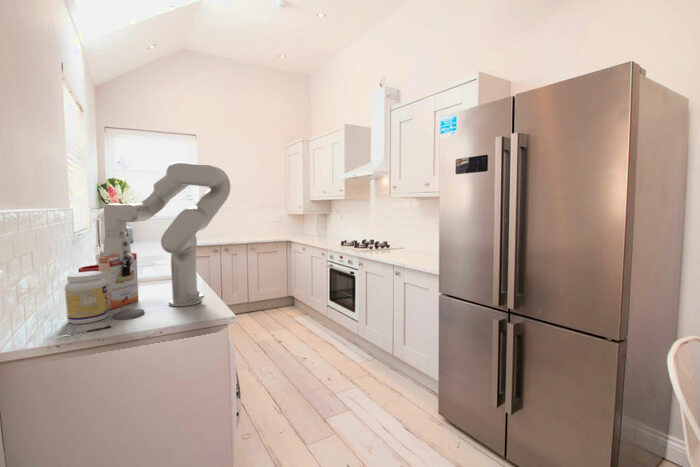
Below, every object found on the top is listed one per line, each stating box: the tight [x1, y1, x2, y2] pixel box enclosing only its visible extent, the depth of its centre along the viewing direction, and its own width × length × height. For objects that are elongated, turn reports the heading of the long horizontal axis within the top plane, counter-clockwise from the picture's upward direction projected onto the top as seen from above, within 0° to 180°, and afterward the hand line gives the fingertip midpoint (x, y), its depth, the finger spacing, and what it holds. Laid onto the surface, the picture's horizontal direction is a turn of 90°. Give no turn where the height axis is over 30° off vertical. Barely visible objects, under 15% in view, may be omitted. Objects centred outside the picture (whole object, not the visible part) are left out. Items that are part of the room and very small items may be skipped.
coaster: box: [112, 308, 145, 321], centre depth 137 cm, size 10×10×1 cm
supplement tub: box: [64, 271, 109, 325], centre depth 131 cm, size 12×12×17 cm
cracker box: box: [97, 252, 139, 310], centre depth 150 cm, size 14×6×21 cm, turn 168°
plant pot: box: [78, 264, 99, 273], centre depth 175 cm, size 13×13×12 cm
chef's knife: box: [67, 325, 112, 336], centre depth 118 cm, size 19×1×3 cm
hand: (117, 275), depth 150 cm, fingers open, 9 cm apart
